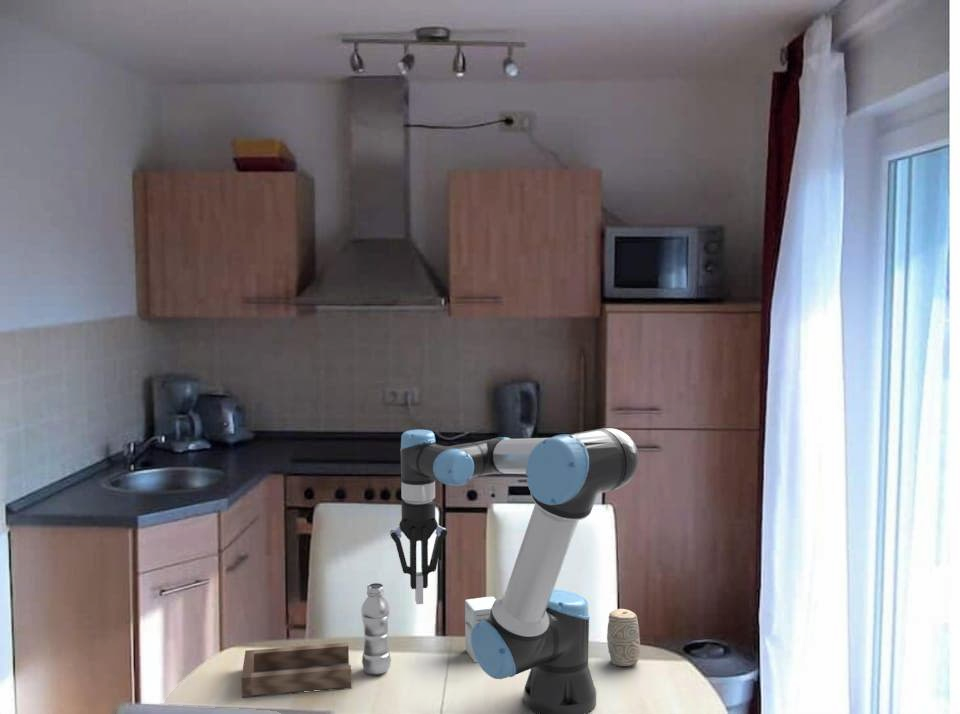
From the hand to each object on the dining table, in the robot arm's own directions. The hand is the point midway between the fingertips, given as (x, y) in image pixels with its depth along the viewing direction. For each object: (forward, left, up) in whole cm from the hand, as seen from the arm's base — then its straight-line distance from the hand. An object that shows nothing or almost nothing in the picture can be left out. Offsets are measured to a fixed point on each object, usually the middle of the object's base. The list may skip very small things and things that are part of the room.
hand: (419, 601), depth 211 cm
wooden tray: (+19, +19, -16) cm, 31 cm away
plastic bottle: (+7, +7, -16) cm, 19 cm away
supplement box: (-8, -14, -16) cm, 23 cm away
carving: (-37, -28, -16) cm, 49 cm away
